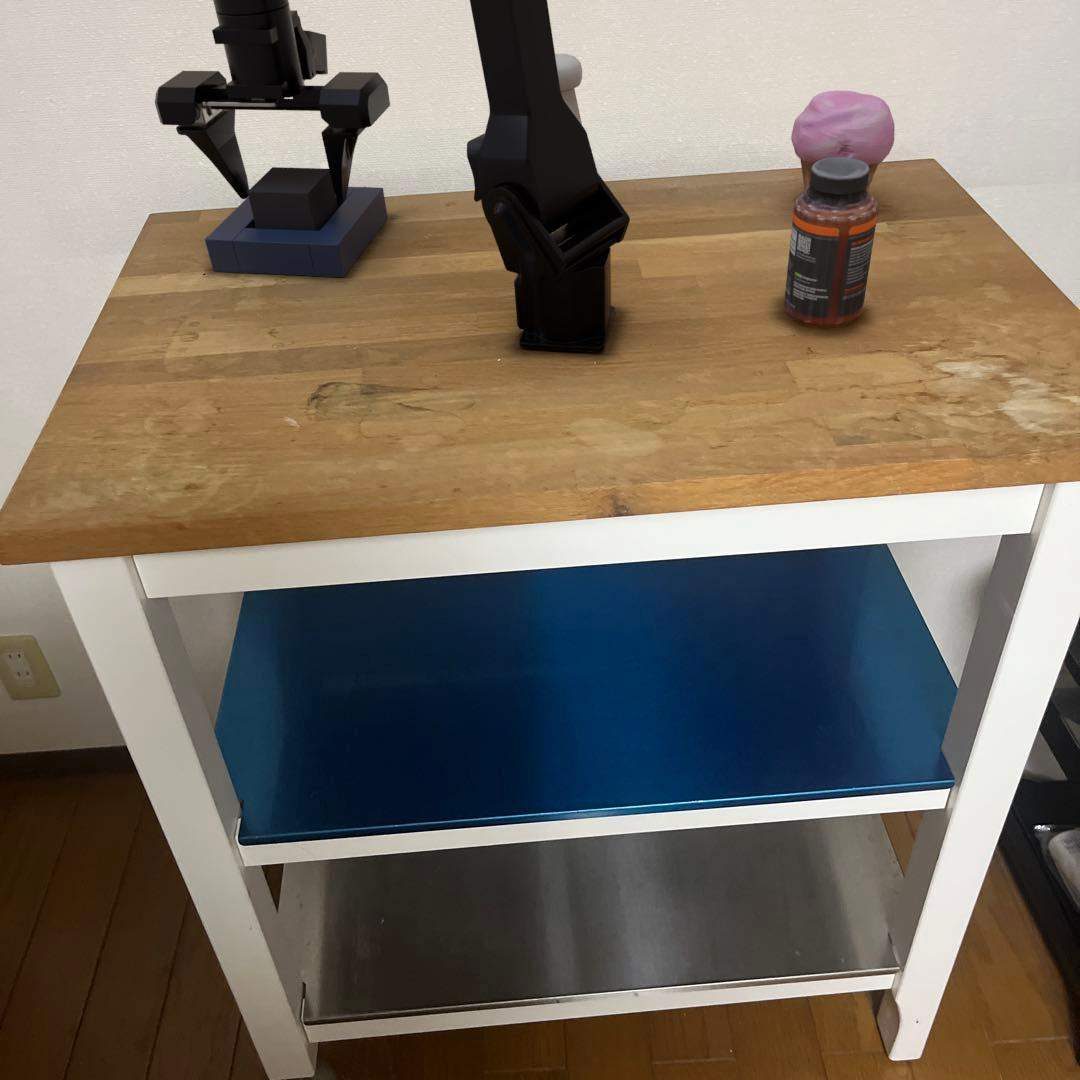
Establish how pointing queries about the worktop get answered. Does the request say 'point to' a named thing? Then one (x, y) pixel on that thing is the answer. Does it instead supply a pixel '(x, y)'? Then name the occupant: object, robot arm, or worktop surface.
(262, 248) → the base
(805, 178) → the cupcake
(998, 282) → the worktop surface
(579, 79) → the salt shaker
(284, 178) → the black cube
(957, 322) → the worktop surface
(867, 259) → the supplement bottle
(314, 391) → the worktop surface
